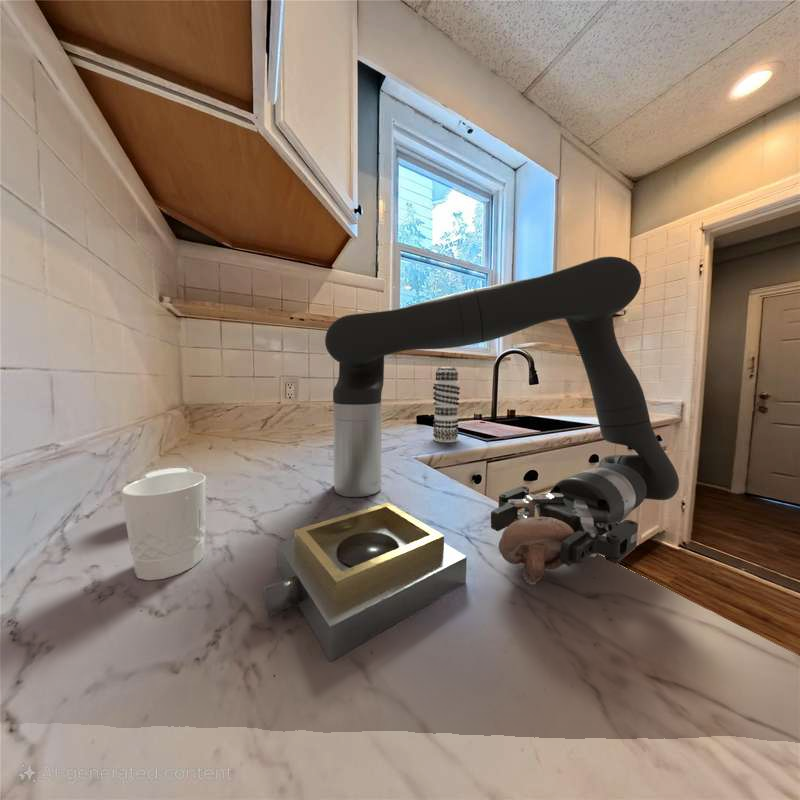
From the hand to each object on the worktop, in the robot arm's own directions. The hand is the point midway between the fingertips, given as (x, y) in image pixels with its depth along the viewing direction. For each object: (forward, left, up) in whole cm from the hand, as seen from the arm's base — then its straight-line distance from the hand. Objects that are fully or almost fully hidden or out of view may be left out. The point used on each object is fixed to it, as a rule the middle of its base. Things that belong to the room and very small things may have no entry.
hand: (525, 536), depth 33 cm
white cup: (-28, -30, -6) cm, 41 cm away
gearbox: (-13, -13, -6) cm, 20 cm away
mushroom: (0, +2, -6) cm, 7 cm away
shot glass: (-44, -30, -6) cm, 54 cm away
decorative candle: (-59, +47, -6) cm, 76 cm away
